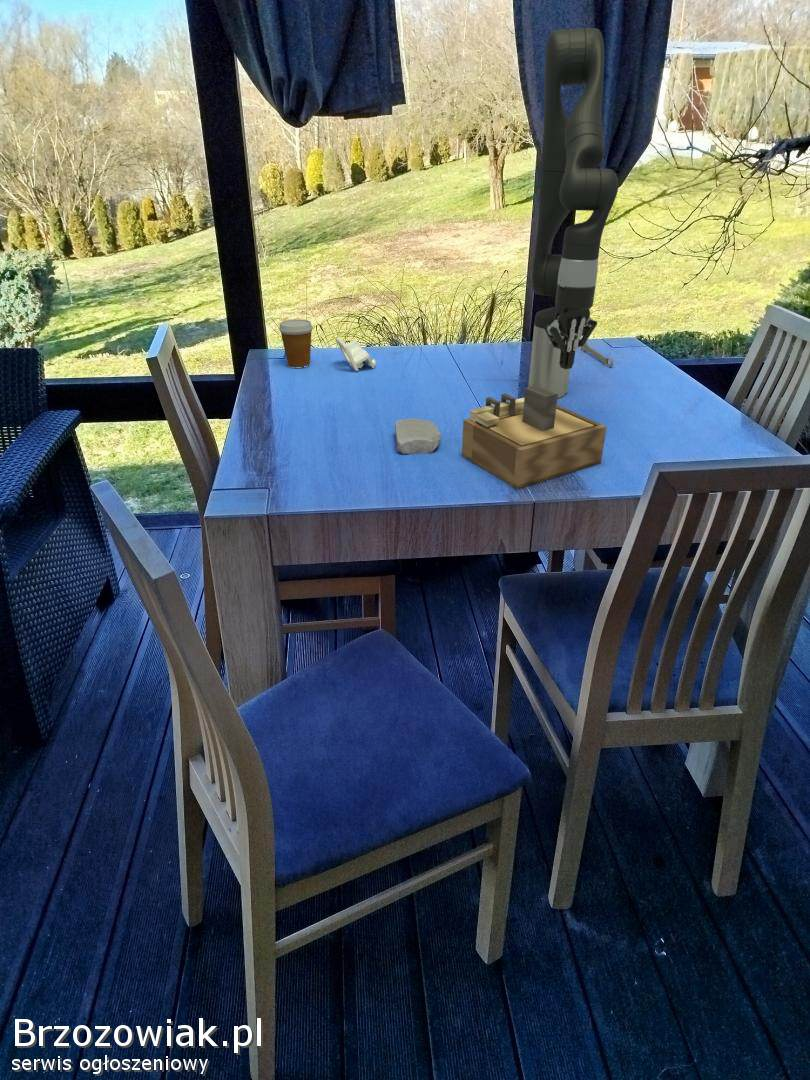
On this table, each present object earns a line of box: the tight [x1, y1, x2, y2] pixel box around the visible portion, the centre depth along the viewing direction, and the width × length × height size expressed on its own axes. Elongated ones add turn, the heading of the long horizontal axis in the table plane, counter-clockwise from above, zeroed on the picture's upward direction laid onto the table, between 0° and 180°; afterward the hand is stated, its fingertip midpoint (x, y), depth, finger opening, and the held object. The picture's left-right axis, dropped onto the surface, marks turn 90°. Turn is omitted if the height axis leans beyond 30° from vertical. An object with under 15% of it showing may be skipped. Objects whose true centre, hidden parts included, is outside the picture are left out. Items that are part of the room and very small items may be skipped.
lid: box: [482, 385, 594, 447], centre depth 134 cm, size 19×12×8 cm, turn 122°
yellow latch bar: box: [469, 396, 525, 426], centre depth 140 cm, size 19×6×3 cm, turn 122°
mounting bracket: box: [335, 336, 377, 372], centre depth 193 cm, size 12×6×11 cm, turn 20°
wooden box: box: [461, 393, 608, 490], centre depth 138 cm, size 22×18×12 cm
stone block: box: [394, 417, 441, 455], centre depth 148 cm, size 12×5×10 cm
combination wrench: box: [579, 340, 614, 368], centre depth 201 cm, size 4×1×20 cm
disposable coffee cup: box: [278, 318, 314, 368], centre depth 193 cm, size 10×10×12 cm
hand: (565, 367), depth 145 cm, fingers closed
